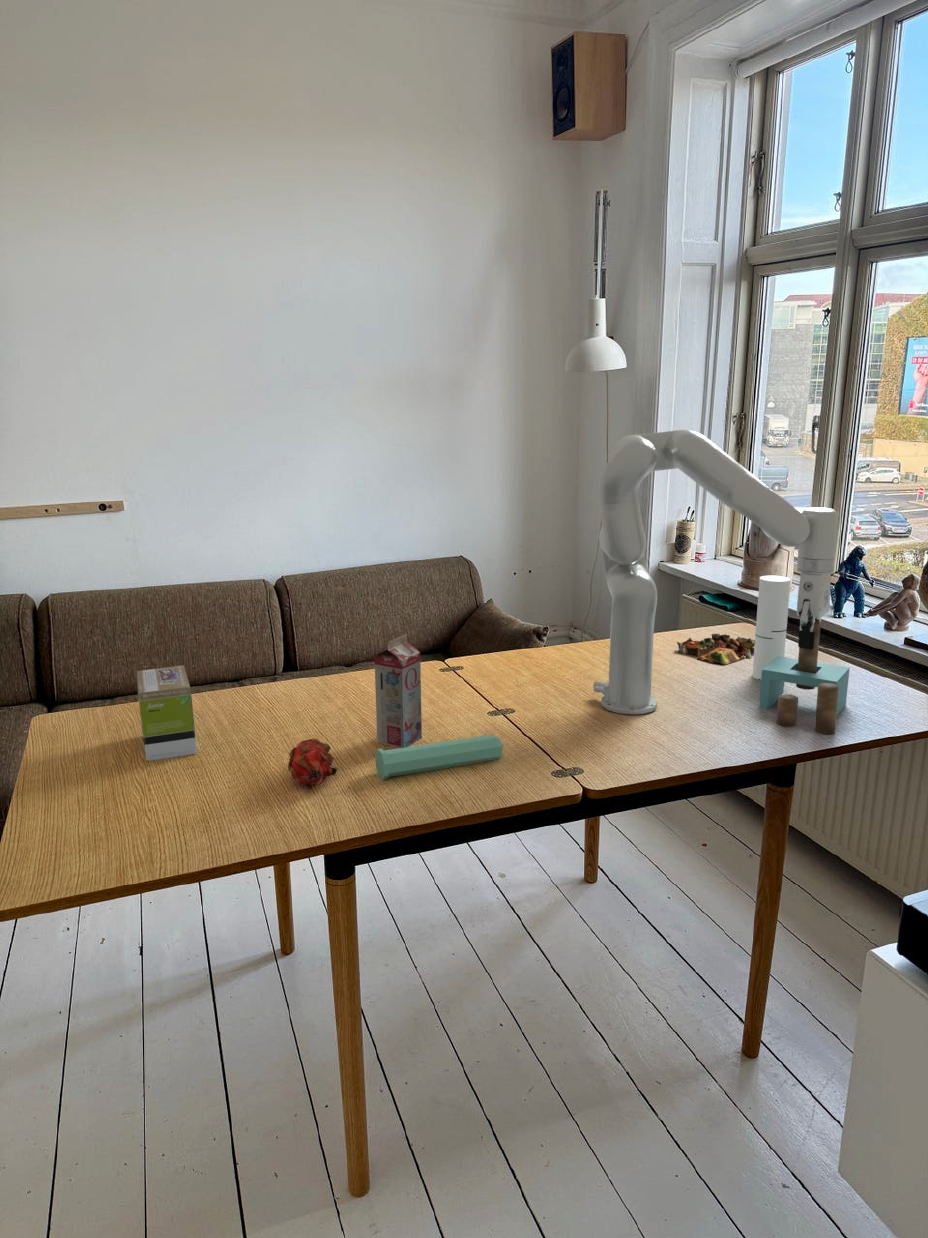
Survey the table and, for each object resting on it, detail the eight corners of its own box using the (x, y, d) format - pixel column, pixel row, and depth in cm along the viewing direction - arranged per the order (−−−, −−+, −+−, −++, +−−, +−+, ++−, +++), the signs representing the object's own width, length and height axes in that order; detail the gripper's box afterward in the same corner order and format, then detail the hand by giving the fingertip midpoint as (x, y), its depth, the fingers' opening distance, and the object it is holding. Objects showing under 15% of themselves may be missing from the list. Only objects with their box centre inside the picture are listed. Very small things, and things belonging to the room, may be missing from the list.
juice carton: (421, 738, 193) (419, 636, 188) (403, 748, 188) (401, 644, 182) (395, 732, 196) (392, 632, 191) (377, 742, 191) (373, 639, 185)
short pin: (774, 724, 199) (776, 698, 198) (779, 719, 202) (781, 693, 201) (793, 728, 197) (795, 701, 195) (798, 722, 200) (800, 696, 199)
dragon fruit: (312, 774, 180) (320, 809, 169) (275, 756, 176) (280, 790, 165) (337, 740, 178) (347, 773, 168) (300, 721, 175) (307, 754, 164)
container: (497, 725, 184) (376, 742, 174) (509, 745, 179) (386, 764, 170) (492, 747, 187) (373, 765, 178) (503, 767, 183) (382, 787, 173)
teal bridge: (759, 707, 210) (762, 669, 207) (774, 692, 219) (777, 656, 217) (832, 721, 201) (836, 681, 199) (845, 705, 210) (849, 667, 208)
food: (715, 638, 266) (716, 627, 265) (773, 654, 252) (774, 641, 251) (667, 653, 252) (668, 641, 251) (726, 670, 238) (727, 657, 237)
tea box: (142, 736, 196) (135, 669, 192) (191, 729, 199) (185, 663, 195) (145, 762, 182) (137, 691, 178) (198, 755, 185) (192, 685, 182)
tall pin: (794, 687, 208) (799, 623, 205) (798, 682, 212) (804, 619, 208) (812, 690, 206) (817, 625, 202) (817, 685, 209) (822, 621, 206)
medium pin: (812, 732, 195) (815, 687, 192) (818, 726, 198) (821, 681, 195) (831, 736, 193) (835, 690, 190) (837, 730, 196) (841, 685, 193)
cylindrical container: (786, 681, 227) (794, 581, 221) (756, 681, 227) (764, 581, 221) (777, 672, 234) (785, 575, 228) (748, 672, 234) (756, 575, 228)
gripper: (823, 573, 193) (816, 657, 198) (842, 560, 206) (835, 639, 211) (787, 569, 197) (780, 652, 202) (807, 557, 211) (801, 634, 215)
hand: (808, 644), depth 206 cm, fingers closed on tall pin, 4 cm apart
